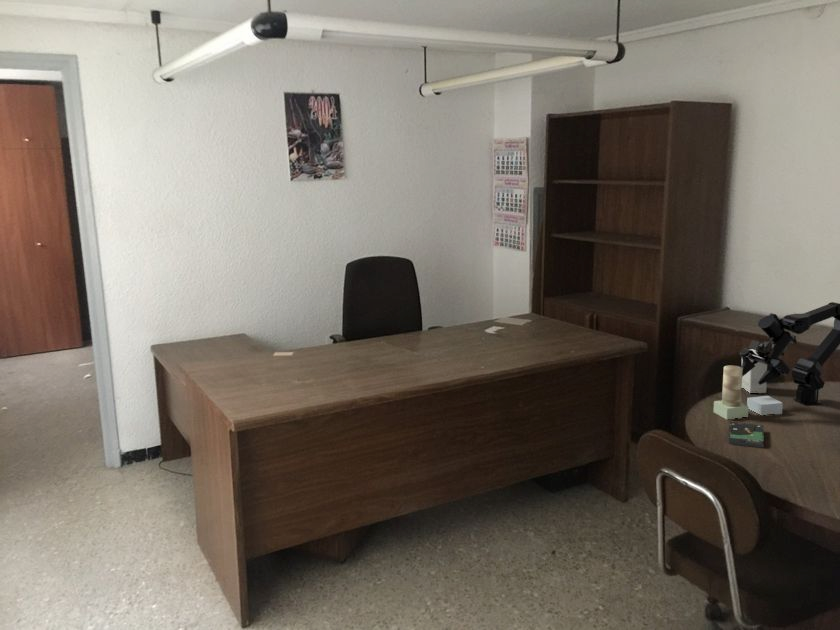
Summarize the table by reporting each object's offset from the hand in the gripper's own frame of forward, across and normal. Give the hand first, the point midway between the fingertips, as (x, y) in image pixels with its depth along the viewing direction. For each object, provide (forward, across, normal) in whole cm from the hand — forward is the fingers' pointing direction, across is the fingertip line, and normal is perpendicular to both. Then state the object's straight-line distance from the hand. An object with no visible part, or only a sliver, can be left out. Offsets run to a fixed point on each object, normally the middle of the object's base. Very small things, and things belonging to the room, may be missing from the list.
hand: (749, 380), depth 246 cm
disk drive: (+21, +18, -4) cm, 28 cm away
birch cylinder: (+10, 0, 0) cm, 11 cm away
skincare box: (-4, -18, +21) cm, 28 cm away
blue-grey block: (+4, +2, +12) cm, 13 cm away
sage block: (+13, 0, +3) cm, 14 cm away
